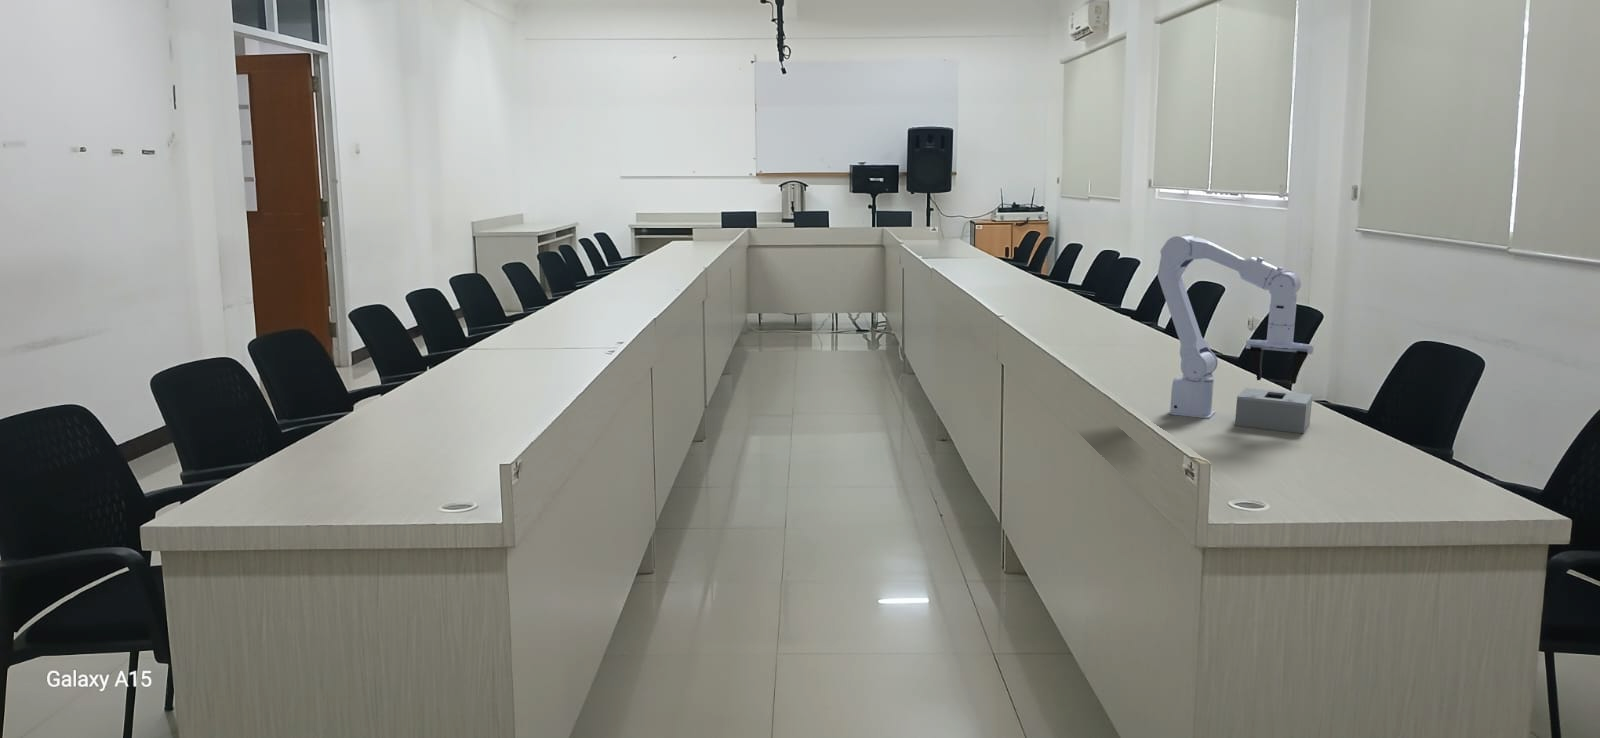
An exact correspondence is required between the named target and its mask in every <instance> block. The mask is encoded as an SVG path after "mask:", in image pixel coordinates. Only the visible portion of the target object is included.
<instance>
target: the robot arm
mask: <svg viewBox="0 0 1600 738" xmlns="http://www.w3.org/2000/svg"><path fill="white" fill-rule="evenodd" d="M1200 259H1201V260H1202V259H1203V260H1204V259H1207V260H1210V261H1213V262H1215V263H1216V264H1217V263H1218V264H1220V265H1222V266H1223V267H1227V268H1229V269H1232V270H1233V271H1236V272H1237V273H1238V274H1239V276H1240V278H1241V280H1243V281H1245V282H1247V283H1249V284H1251V285H1254V286H1256V287H1258V288H1261V289H1262V290H1264V291H1267V290H1268V293H1269V294H1270V303H1269V311H1268V321H1267V322H1268V323H1267V332H1266V333H1267V335H1266V339H1264V340H1263V339H1246V340H1245V341H1246V342H1245V349H1250V351H1249V355H1250V357H1251V359H1252V362H1253V365H1254V368H1255V373H1256V380H1257V381H1260V380H1262V374H1263V373H1262V372H1263V370H1262V369H1263V357H1264V351H1265V350H1266V351H1278V352H1290V353H1295V354H1294V356H1293V358H1294V359H1293V360H1294V362H1293V373H1292V377H1291V384H1293V385H1295V384H1296V383H1297V379H1298V376H1299V373H1300V370H1301V368H1302V366H1303V364H1304V363H1305V360H1306V359H1307V357H1308V355H1313V354H1314V347H1315V345H1314V344H1309V343H1308V344H1307V343H1300V342H1294V336H1295V324H1296V313H1297V297H1298V296H1297V294H1298V292H1299V291H1300V288H1301V285H1302V284H1301V283H1302V282H1301V279H1300V277H1299V276H1298V274H1295V272H1293V271H1291V270H1286V271H1283V270H1284V267H1282V266H1274V265H1272V264H1271V263H1268V262H1266V261H1264V260H1265V259H1264V257H1261V256H1258V257H1254V256H1251V257H1249V258H1246V259H1245V258H1244V257H1241V256H1240V255H1238V254H1235V253H1234V252H1232V251H1230V250H1227V249H1225V248H1224V247H1222V246H1220V245H1218V244H1216V243H1214V242H1212V241H1211V240H1210V241H1209V240H1207V239H1205V238H1202V237H1197V236H1195V235H1193V234H1183V235H1180V236H1179V235H1177V236H1172V237H1170V238H1169V239H1167V240H1166V242H1165V243H1164V245H1163V246H1162V248H1161V249H1160V260H1159V265H1158V270H1157V278H1158V279H1157V280H1158V281H1159V282H1158V283H1159V284H1160V287H1161V291H1162V294H1163V296H1164V299H1165V303H1166V304H1167V307H1168V310H1169V311H1168V312H1169V313H1170V314H1169V315H1170V316H1171V320H1172V322H1173V326H1174V328H1175V332H1176V334H1177V337H1178V340H1179V343H1180V347H1179V356H1180V358H1181V359H1180V360H1181V361H1180V371H1181V374H1182V377H1180V376H1175V377H1174V378H1173V381H1172V385H1171V394H1170V406H1169V407H1170V408H1169V409H1170V410H1169V415H1173V416H1182V417H1190V418H1191V417H1192V418H1197V419H1199V418H1201V419H1208V420H1209V419H1211V418H1212V417H1213V415H1215V413H1216V411H1215V410H1212V407H1213V405H1212V404H1213V403H1212V402H1213V395H1214V394H1213V393H1214V382H1215V377H1214V376H1213V375H1214V374H1213V373H1214V372H1215V371H1216V370H1217V367H1218V364H1219V362H1218V357H1217V355H1216V354H1215V353H1214V352H1213V351H1212V350H1211V348H1210V346H1209V344H1208V342H1207V341H1206V340H1205V338H1204V337H1203V336H1202V332H1201V330H1200V328H1199V324H1198V321H1197V317H1196V316H1195V313H1194V310H1193V307H1192V304H1191V300H1190V299H1189V298H1190V297H1189V295H1188V291H1187V289H1186V286H1185V284H1184V281H1183V278H1182V276H1183V274H1184V272H1185V271H1186V269H1187V268H1188V266H1189V265H1190V264H1191V263H1192V262H1193V261H1194V260H1200Z"/></svg>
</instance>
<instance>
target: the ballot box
mask: <svg viewBox="0 0 1600 738" xmlns="http://www.w3.org/2000/svg"><path fill="white" fill-rule="evenodd" d="M1312 402H1313V394H1310V393H1301V392H1293V391H1292V392H1291V391H1284V390H1283V391H1281V390H1273V389H1272V390H1271V389H1265V388H1264V389H1263V388H1261V389H1260V388H1252V387H1244V389H1243V390H1242V391H1241V392H1240V393H1239V394H1238V395H1237V397H1236V409H1235V422H1234V426H1236V427H1244V428H1253V429H1263V430H1270V431H1278V432H1279V431H1280V432H1287V433H1296V434H1305V432H1306V430H1307V429H1308V428H1309V425H1310V424H1311V414H1312V413H1311V412H1312Z"/></svg>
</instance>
